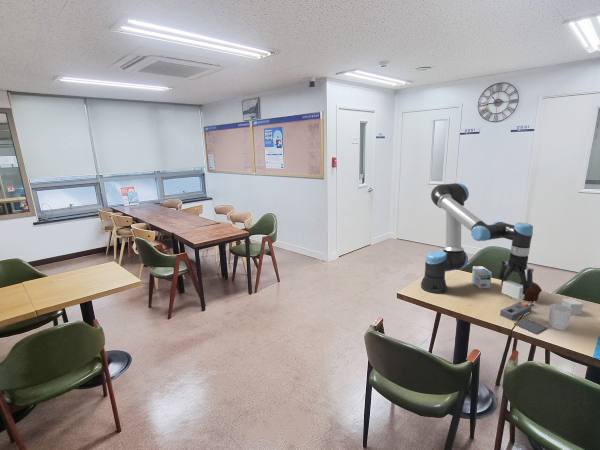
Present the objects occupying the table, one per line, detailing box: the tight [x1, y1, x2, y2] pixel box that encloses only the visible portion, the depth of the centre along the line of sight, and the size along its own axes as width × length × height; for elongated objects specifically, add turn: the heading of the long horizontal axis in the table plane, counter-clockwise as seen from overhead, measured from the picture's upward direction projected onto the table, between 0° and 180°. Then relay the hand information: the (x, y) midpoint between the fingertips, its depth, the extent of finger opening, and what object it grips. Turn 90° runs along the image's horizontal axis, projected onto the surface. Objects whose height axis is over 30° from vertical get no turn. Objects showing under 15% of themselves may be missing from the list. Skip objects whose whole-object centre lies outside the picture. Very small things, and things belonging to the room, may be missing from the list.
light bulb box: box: [470, 265, 493, 289], centre depth 201 cm, size 11×7×11 cm, turn 179°
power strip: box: [499, 301, 535, 321], centre depth 169 cm, size 6×26×4 cm, turn 118°
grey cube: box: [560, 298, 584, 316], centre depth 167 cm, size 6×6×6 cm
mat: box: [513, 317, 548, 335], centre depth 155 cm, size 10×10×1 cm
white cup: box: [548, 303, 572, 331], centre depth 154 cm, size 8×8×10 cm
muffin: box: [519, 281, 543, 303], centre depth 182 cm, size 12×11×10 cm
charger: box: [501, 279, 523, 300], centre depth 162 cm, size 8×5×8 cm, turn 28°
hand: (512, 295), depth 163 cm, fingers closed on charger, 8 cm apart
